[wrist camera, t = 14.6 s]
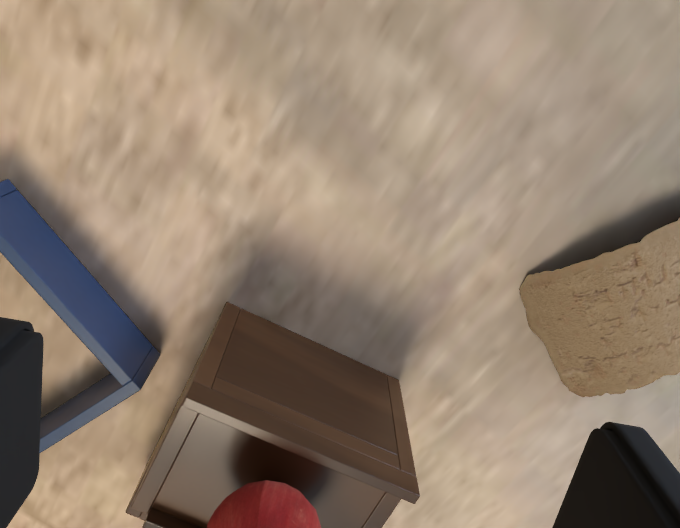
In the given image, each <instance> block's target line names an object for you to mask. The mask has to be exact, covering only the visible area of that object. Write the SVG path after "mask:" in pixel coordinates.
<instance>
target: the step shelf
mask: <svg viewBox="0 0 680 528" xmlns="http://www.w3.org/2000/svg"><path fill="white" fill-rule="evenodd" d="M265 480H268V481H275V482H281V483H286V484H287V485H289V486H291V487H293V488H295V489H297V490H299V491H300V492H301V493H302V494H303V495H304V497H305V498H306V499H307V500H308V501H309V502H310V503H311V505H312V506H313V507H314V508H315V509H316V512H317V515H318V518H319V522H320V525H321V528H382V526H383V525H384V524H385V522H386V521H387V519H388V518H389V516H390V515H391V513H392V512H393V510H394V509H395V507H396V506H397V504H398V503H399V501H400V500H401V499H404V500H406V501H408V502H411V503H413V504H415V503H416V501H417V500H418V498H419V497H420V494H419V488H418V483H417V478H416V472H415V467H414V461H413V456H412V450H411V445H410V439H409V434H408V428H407V423H406V417H405V411H404V406H403V400H402V395H401V389H400V384H399V380H397V379H395V378H393V377H390V376H388V375H386V374H384V373H382V372H380V371H377V370H375V369H373V368H371V367H369V366H366V365H364V364H362V363H360V362H358V361H355V360H353V359H351V358H349V357H347V356H344V355H342V354H340V353H338V352H336V351H333V350H331V349H329V348H327V347H325V346H323V345H320V344H318V343H316V342H314V341H312V340H309V339H307V338H305V337H303V336H301V335H298V334H296V333H294V332H292V331H290V330H287V329H285V328H283V327H281V326H279V325H276V324H274V323H272V322H270V321H268V320H265V319H263V318H261V317H259V316H257V315H254V314H252V313H250V312H248V311H246V310H243V309H240V308H239V307H237V306H235V305H233V304H231V303H228V302H226V304H225V306H224V308H223V310H222V313H221V315H220V317H219V319H218V321H217V323H216V325H215V327H214V329H213V331H212V333H211V335H210V337H209V339H208V341H207V343H206V345H205V347H204V349H203V351H202V353H201V355H200V357H199V359H198V361H197V364H196V366H195V368H194V370H193V372H192V374H191V376H190V378H189V380H188V382H187V384H186V386H185V388H184V390H183V392H182V394H181V396H180V398H179V400H178V402H177V404H176V406H175V408H174V410H173V412H172V415H171V417H170V419H169V421H168V423H167V425H166V427H165V429H164V431H163V433H162V435H161V437H160V439H159V441H158V443H157V445H156V447H155V449H154V451H153V453H152V455H151V457H150V459H149V461H148V463H147V466H146V468H145V470H144V472H143V474H142V476H141V479H140V481H139V483H138V485H137V487H136V490H135V492H134V494H133V496H132V498H131V501H130V503H129V505H128V507H127V509H126V513H127V514H130V515H133V516H135V517H138V518H140V519H142V520H145V522H144V524H143V528H207V525H208V522H209V520H210V518H211V516H212V515H213V513H214V511H215V510H216V509H217V507H218V506H219V505H220V504H221V503H222V501H223V500H224V499H225V498H226V497H227V496H229V495H230V494H231V493H233V492H234V491H236V490H237V489H239V488H241V487H242V486H244V485H246V484H248V483H252V482H258V481H265Z"/></svg>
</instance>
